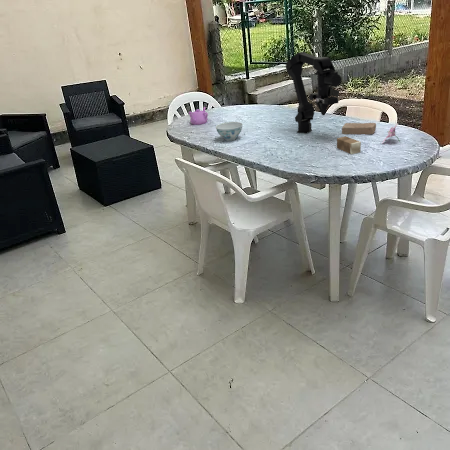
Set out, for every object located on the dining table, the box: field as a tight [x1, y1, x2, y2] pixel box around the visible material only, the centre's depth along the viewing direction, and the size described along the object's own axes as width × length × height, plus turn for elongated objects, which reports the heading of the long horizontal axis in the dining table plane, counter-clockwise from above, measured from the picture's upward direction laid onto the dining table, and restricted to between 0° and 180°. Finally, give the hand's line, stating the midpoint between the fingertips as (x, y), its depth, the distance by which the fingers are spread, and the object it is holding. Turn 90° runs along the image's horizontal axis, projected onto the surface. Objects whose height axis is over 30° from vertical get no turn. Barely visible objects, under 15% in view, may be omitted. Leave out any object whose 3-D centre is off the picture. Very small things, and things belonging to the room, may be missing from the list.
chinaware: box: [215, 121, 243, 142], centre depth 252 cm, size 15×15×8 cm
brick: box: [341, 122, 377, 136], centre depth 238 cm, size 17×8×5 cm, turn 64°
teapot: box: [188, 106, 209, 126], centre depth 292 cm, size 12×14×9 cm
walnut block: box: [336, 135, 362, 155], centre depth 214 cm, size 5×5×12 cm
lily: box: [382, 122, 401, 143], centre depth 218 cm, size 12×12×10 cm
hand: (323, 115), depth 231 cm, fingers closed
